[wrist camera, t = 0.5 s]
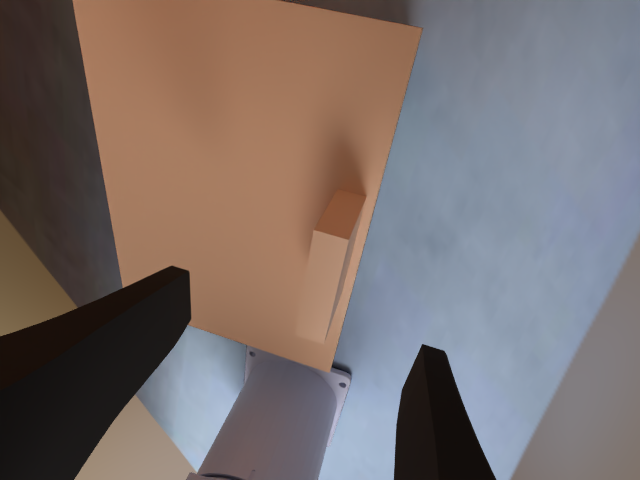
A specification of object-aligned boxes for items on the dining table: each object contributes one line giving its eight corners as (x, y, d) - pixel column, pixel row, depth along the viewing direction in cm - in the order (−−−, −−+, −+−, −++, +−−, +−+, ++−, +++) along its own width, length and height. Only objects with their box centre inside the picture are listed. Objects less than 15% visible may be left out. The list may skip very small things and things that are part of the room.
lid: (334, 355, 22) (311, 430, 18) (140, 290, 24) (80, 345, 20) (423, 27, 13) (416, 32, 9) (92, -37, 14) (-38, -57, 11)
